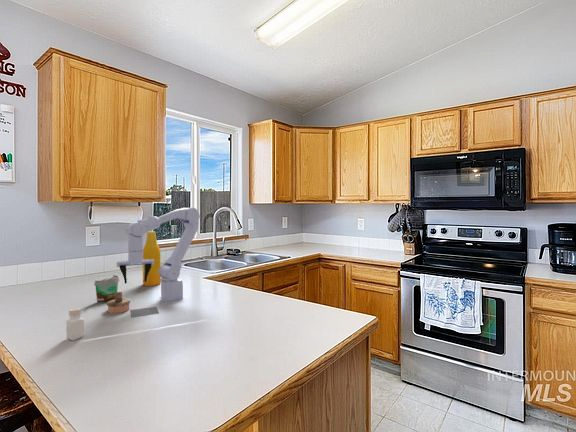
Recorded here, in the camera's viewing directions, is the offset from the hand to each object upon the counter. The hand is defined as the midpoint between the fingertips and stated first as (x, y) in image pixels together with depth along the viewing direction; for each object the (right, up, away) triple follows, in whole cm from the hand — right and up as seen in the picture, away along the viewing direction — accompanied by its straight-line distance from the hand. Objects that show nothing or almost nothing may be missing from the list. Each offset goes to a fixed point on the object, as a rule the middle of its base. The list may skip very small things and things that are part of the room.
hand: (135, 282), depth 140 cm
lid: (-4, -7, -7) cm, 11 cm away
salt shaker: (-4, -12, -34) cm, 36 cm away
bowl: (-4, -11, -6) cm, 13 cm away
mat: (+8, -11, -9) cm, 16 cm away
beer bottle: (-10, -9, +40) cm, 42 cm away
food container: (-16, -10, +10) cm, 22 cm away
